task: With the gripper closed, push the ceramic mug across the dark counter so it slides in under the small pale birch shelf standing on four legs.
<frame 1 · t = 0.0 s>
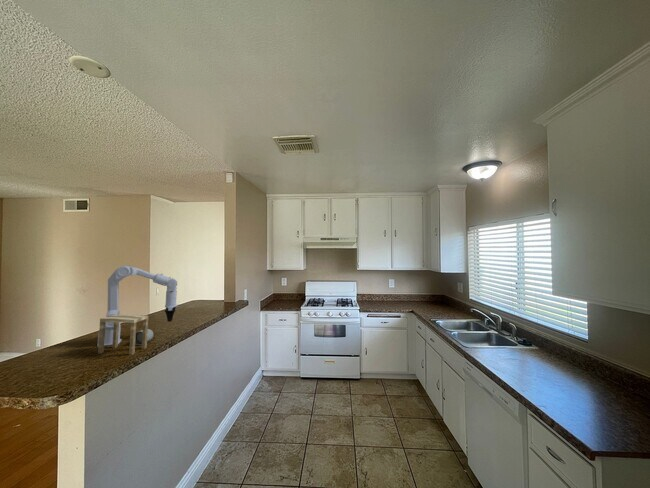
hand: (169, 320, 159), 10 cm above the counter, tool pointing down, fingers open, 7 cm apart
counter shelf: (123, 350, 134), on the counter
ceramic mug: (140, 343, 146), on the counter
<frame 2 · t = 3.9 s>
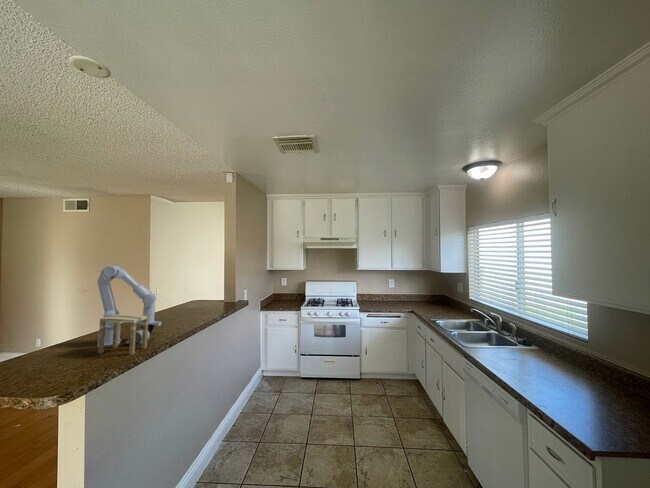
hand: (147, 337, 151), 1 cm above the counter, tool pointing down, fingers closed
ceramic mug: (136, 344, 144), on the counter, touching gripper
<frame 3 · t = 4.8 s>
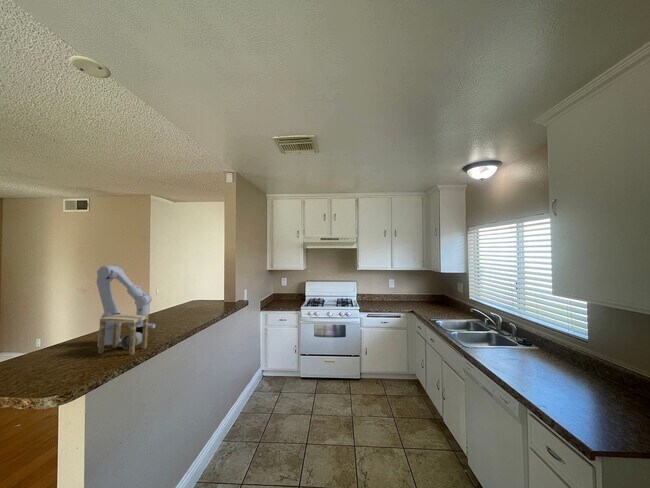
hand: (140, 340, 146), 1 cm above the counter, tool pointing down, fingers closed
ceramic mug: (129, 347, 139), on the counter, touching gripper
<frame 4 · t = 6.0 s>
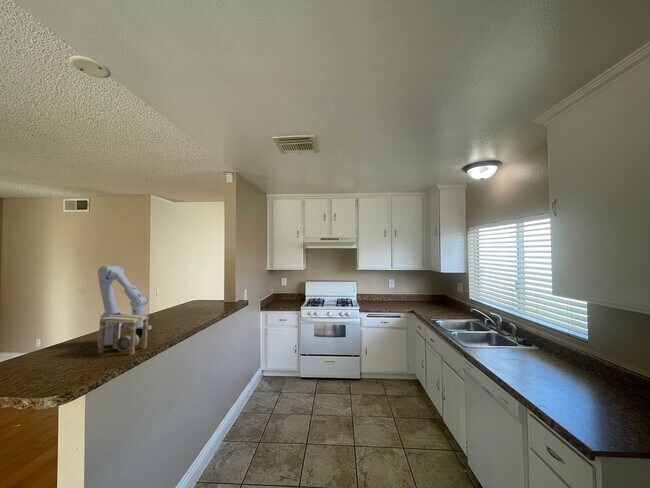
hand: (136, 342, 143), 1 cm above the counter, tool pointing down, fingers closed
ceramic mug: (124, 349, 136), on the counter, touching gripper
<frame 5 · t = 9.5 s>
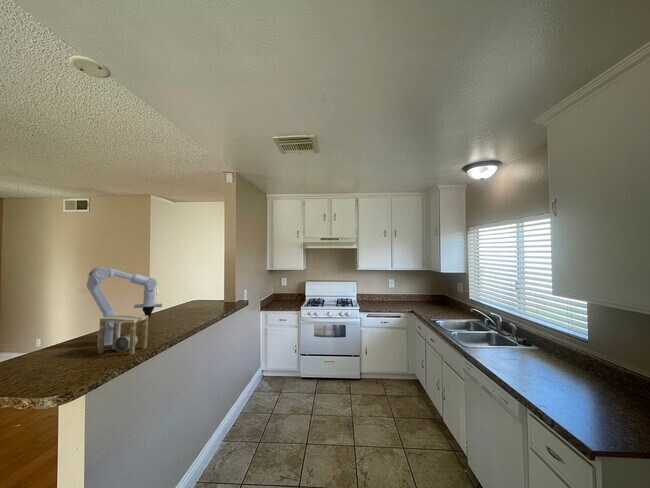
hand: (147, 319, 158), 10 cm above the counter, tool pointing down, fingers closed
ceramic mug: (123, 349, 135), on the counter
at the end: ceramic mug 2.4 cm from the counter shelf (horizontally); ceramic mug tilted 1°; ceramic mug moved 10.3 cm from its start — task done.
